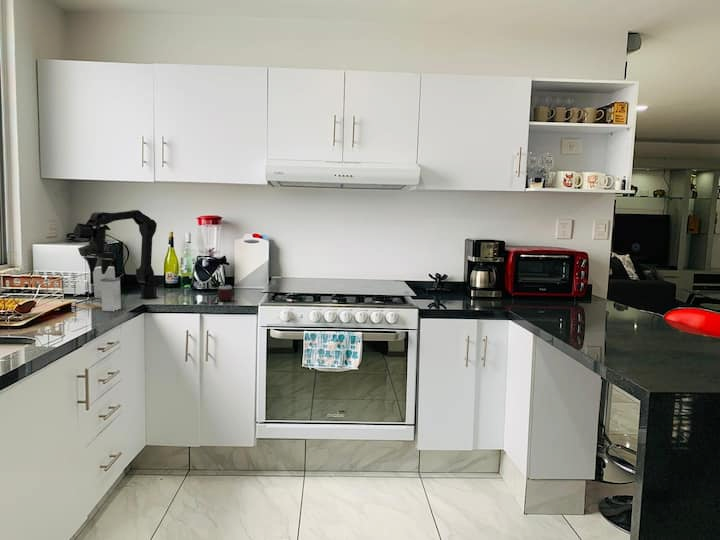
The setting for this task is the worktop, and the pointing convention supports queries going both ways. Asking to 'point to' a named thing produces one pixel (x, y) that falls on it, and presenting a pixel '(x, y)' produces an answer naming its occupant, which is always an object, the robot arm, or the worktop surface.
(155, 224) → the robot arm
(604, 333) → the worktop surface
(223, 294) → the mate gourd
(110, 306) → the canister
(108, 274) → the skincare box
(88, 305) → the oak board
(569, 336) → the worktop surface
